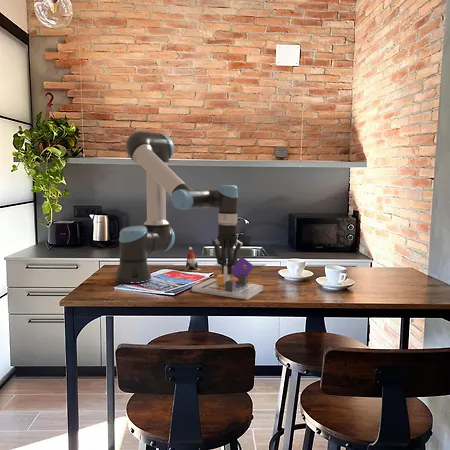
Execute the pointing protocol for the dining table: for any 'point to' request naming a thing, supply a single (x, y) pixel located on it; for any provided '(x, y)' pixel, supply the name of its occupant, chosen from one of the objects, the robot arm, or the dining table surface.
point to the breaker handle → (220, 280)
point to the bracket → (241, 267)
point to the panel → (225, 293)
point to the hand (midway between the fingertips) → (226, 282)
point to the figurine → (191, 261)
